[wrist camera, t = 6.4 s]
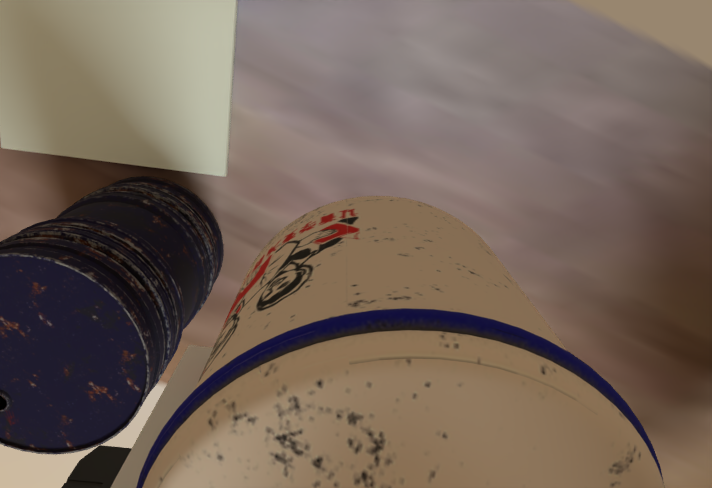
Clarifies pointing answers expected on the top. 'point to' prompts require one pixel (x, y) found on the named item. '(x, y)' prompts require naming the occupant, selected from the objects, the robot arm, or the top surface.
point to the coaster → (119, 80)
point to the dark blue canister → (98, 310)
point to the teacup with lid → (393, 371)
